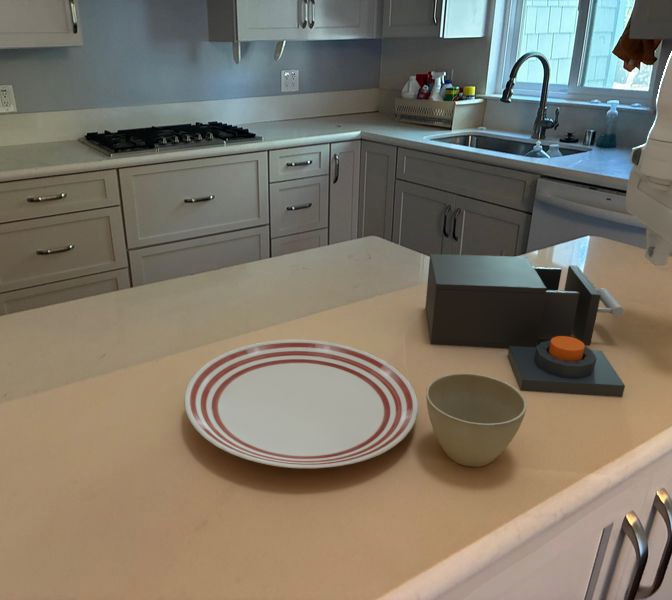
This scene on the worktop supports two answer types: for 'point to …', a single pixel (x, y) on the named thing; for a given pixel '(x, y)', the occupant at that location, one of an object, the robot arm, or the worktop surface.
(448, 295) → the dark grey box
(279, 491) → the worktop surface
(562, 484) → the worktop surface
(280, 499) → the worktop surface
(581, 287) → the drawer
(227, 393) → the dinner plate
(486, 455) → the olive beige bowl
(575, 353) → the button
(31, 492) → the worktop surface
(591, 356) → the control pad
